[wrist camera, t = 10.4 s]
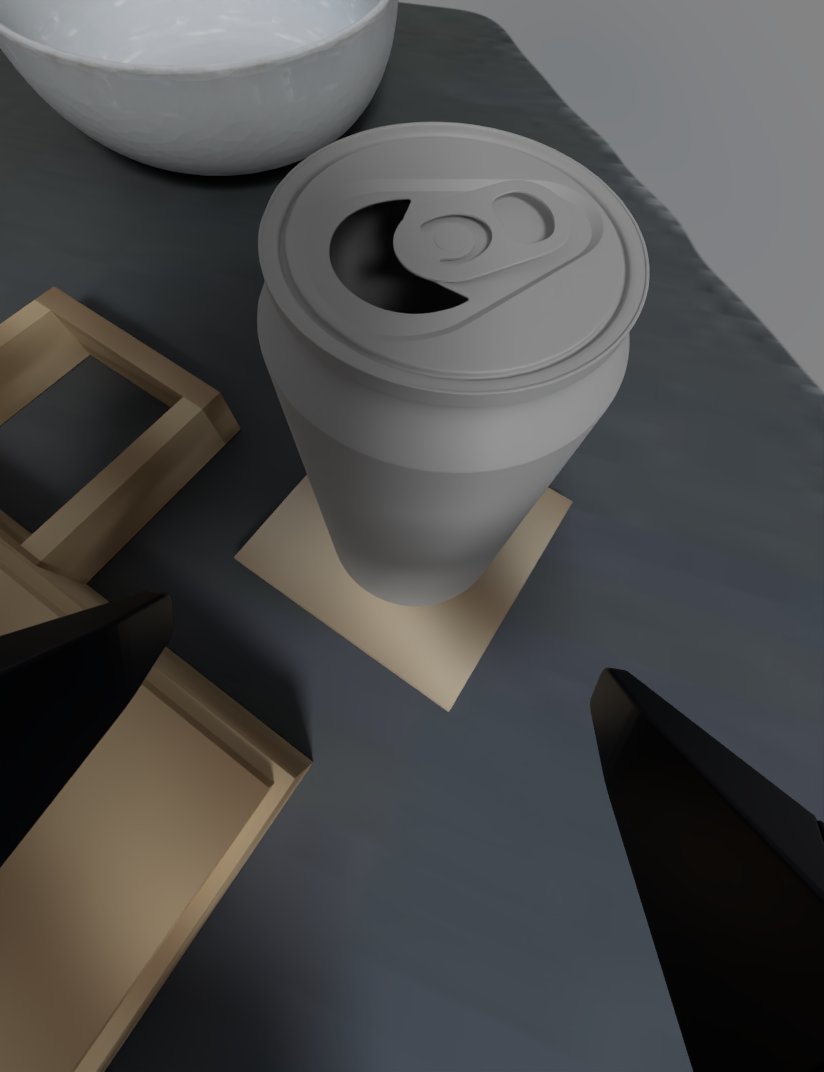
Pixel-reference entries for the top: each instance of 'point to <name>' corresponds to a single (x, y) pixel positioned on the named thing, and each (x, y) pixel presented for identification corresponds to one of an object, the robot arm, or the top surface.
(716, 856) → the robot arm
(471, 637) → the cork mat
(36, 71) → the serving bowl
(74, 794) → the wooden notched board
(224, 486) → the top surface
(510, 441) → the beverage can
